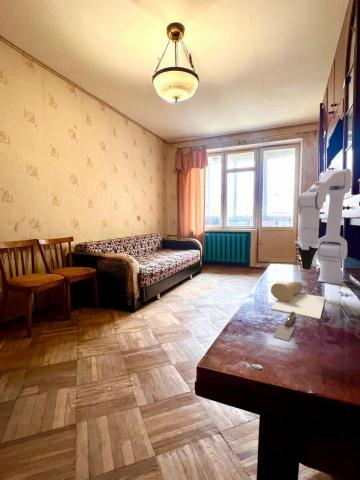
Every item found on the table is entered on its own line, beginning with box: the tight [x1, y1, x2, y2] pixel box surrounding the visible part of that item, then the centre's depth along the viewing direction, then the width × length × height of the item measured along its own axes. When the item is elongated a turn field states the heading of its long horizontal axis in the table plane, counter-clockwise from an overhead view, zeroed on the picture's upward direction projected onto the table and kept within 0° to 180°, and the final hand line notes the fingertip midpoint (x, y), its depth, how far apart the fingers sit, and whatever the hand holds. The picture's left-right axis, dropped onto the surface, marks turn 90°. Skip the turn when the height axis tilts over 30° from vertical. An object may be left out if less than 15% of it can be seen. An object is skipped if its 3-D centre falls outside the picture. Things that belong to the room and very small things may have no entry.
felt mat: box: [270, 292, 326, 320], centre depth 74 cm, size 20×12×1 cm, turn 146°
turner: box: [273, 312, 297, 342], centre depth 58 cm, size 15×3×1 cm, turn 146°
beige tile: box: [275, 280, 291, 285], centre depth 95 cm, size 6×6×1 cm
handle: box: [270, 281, 304, 302], centre depth 80 cm, size 5×6×15 cm
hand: (306, 269), depth 83 cm, fingers closed
